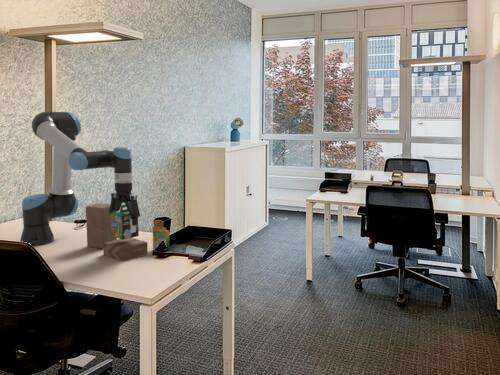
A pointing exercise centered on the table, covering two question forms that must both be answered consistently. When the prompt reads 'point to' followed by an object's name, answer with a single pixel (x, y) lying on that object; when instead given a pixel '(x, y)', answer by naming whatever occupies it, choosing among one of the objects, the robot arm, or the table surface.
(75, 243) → the table surface
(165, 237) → the crayon box
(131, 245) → the walnut block
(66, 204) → the robot arm
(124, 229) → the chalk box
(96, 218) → the wooden block
